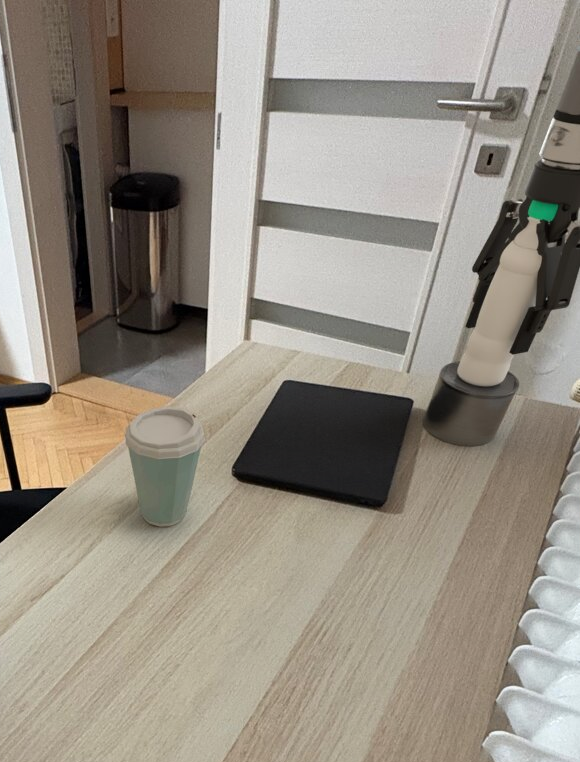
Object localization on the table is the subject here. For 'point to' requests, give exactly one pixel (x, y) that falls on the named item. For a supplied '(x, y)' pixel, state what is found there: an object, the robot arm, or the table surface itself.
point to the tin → (467, 408)
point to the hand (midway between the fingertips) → (495, 338)
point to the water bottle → (506, 304)
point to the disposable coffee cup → (164, 461)
